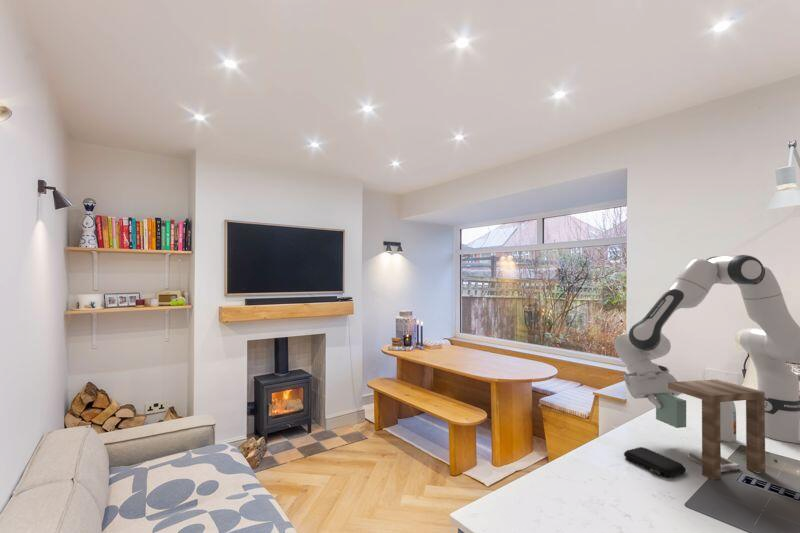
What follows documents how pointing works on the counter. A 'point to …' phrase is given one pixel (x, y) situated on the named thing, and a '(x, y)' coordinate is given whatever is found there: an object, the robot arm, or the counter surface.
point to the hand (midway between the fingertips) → (667, 407)
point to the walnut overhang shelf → (711, 434)
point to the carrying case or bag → (655, 462)
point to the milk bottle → (728, 421)
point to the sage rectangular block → (671, 410)
